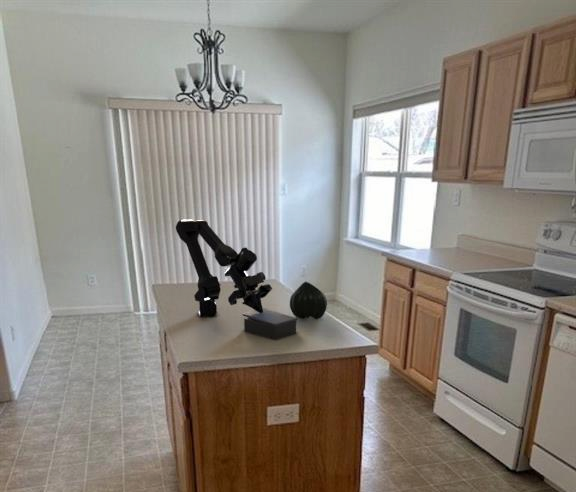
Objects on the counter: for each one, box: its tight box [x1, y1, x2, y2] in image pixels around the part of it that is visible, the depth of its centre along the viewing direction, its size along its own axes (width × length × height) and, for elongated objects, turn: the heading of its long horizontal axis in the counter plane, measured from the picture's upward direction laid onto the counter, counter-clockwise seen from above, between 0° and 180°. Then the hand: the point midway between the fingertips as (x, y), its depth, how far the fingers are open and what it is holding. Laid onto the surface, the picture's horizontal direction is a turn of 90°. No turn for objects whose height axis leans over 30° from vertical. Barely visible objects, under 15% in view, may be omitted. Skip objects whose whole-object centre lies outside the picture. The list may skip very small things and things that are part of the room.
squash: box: [289, 281, 328, 320], centre depth 216 cm, size 14×15×15 cm
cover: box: [242, 307, 298, 326], centre depth 196 cm, size 16×12×1 cm
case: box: [243, 317, 297, 340], centre depth 197 cm, size 16×12×5 cm
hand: (261, 312), depth 198 cm, fingers closed, pressing on cover
